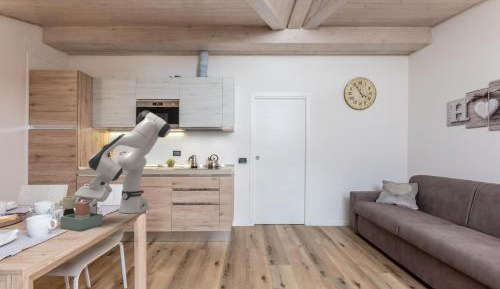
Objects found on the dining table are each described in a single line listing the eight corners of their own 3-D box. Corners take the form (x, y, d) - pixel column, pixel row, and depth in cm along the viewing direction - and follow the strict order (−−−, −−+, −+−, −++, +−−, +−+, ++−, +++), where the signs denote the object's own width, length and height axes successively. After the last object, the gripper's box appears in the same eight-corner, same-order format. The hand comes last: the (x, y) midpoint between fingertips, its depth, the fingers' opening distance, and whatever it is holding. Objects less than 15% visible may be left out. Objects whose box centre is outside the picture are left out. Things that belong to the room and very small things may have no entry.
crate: (83, 222, 164) (83, 211, 164) (102, 224, 160) (102, 214, 160) (60, 228, 151) (60, 216, 151) (80, 231, 147) (81, 219, 147)
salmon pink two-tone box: (82, 223, 159) (83, 201, 159) (89, 224, 157) (90, 202, 157) (74, 225, 154) (75, 202, 154) (81, 226, 152) (82, 203, 152)
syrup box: (90, 220, 168) (91, 195, 169) (81, 219, 170) (82, 195, 170) (97, 218, 174) (98, 194, 174) (88, 217, 175) (89, 193, 175)
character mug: (81, 217, 173) (82, 196, 173) (76, 220, 166) (77, 198, 166) (61, 217, 172) (62, 196, 172) (55, 220, 165) (56, 198, 165)
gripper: (81, 181, 166) (64, 200, 157) (109, 183, 160) (93, 204, 150) (87, 187, 170) (71, 207, 161) (114, 190, 164) (100, 211, 155)
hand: (82, 205), depth 156 cm, fingers open, 8 cm apart
